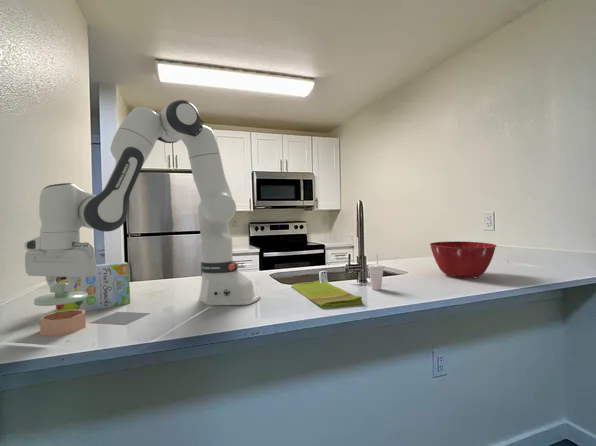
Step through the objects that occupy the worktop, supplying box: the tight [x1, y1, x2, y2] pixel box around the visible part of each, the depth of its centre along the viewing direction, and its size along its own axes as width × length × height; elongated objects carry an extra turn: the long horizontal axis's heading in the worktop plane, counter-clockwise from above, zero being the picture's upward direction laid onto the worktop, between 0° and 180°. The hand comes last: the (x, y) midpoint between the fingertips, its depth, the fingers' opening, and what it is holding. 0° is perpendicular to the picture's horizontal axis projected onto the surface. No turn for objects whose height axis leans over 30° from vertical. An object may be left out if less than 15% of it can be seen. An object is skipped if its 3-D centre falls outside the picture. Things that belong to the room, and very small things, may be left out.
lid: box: [33, 282, 88, 307], centre depth 91 cm, size 12×12×4 cm
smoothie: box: [367, 254, 385, 291], centre depth 133 cm, size 6×6×14 cm
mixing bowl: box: [429, 240, 497, 279], centre depth 157 cm, size 28×28×15 cm
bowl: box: [39, 309, 87, 337], centre depth 91 cm, size 10×10×4 cm
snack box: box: [55, 261, 131, 312], centre depth 112 cm, size 21×6×15 cm, turn 129°
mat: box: [89, 311, 151, 326], centre depth 100 cm, size 12×11×1 cm
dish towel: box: [291, 279, 364, 309], centre depth 126 cm, size 15×36×3 cm, turn 18°
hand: (62, 292), depth 91 cm, fingers closed on lid, 3 cm apart
